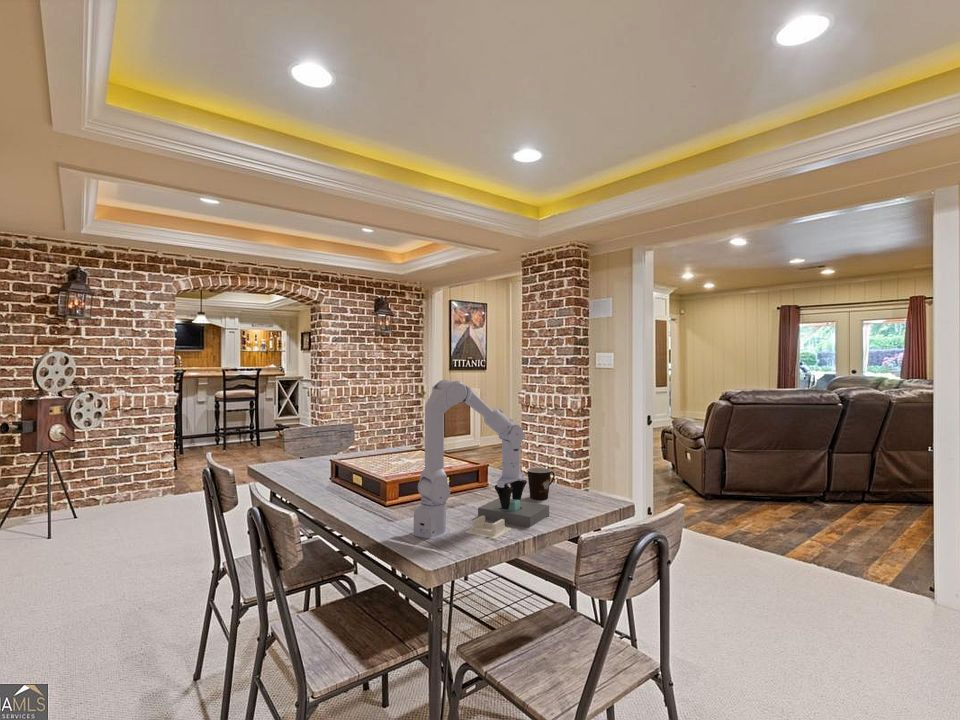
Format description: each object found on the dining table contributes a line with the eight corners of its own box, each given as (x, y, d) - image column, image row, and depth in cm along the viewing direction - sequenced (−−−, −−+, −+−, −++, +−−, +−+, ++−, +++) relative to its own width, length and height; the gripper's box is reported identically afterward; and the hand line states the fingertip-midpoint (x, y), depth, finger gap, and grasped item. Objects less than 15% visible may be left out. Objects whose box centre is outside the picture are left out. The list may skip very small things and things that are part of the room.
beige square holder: (495, 540, 143) (495, 527, 143) (464, 533, 148) (464, 521, 148) (511, 530, 152) (512, 518, 152) (482, 524, 157) (482, 512, 157)
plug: (515, 522, 159) (515, 502, 159) (502, 520, 161) (502, 500, 161) (520, 519, 162) (520, 500, 162) (507, 517, 164) (507, 498, 164)
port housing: (530, 528, 153) (530, 516, 153) (477, 518, 162) (477, 507, 162) (549, 516, 165) (549, 505, 165) (499, 508, 174) (499, 497, 174)
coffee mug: (531, 501, 182) (531, 473, 182) (523, 495, 191) (524, 468, 191) (562, 499, 185) (562, 471, 185) (553, 493, 193) (553, 466, 193)
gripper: (511, 467, 154) (511, 513, 154) (532, 459, 166) (532, 502, 166) (491, 465, 157) (490, 510, 157) (513, 457, 170) (512, 499, 170)
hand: (511, 505), depth 162 cm, fingers open, 7 cm apart
